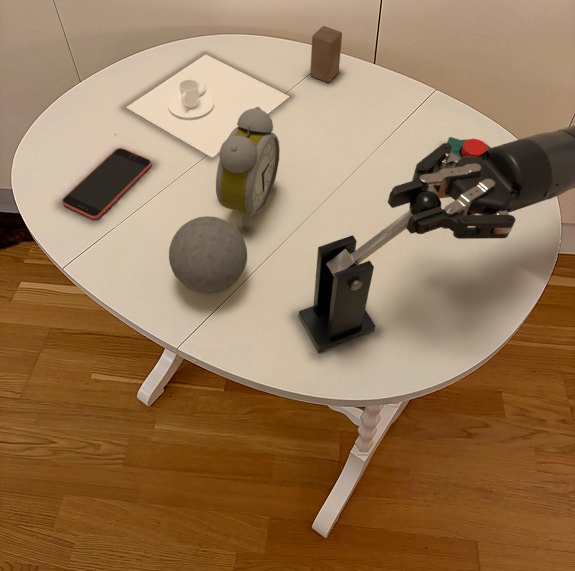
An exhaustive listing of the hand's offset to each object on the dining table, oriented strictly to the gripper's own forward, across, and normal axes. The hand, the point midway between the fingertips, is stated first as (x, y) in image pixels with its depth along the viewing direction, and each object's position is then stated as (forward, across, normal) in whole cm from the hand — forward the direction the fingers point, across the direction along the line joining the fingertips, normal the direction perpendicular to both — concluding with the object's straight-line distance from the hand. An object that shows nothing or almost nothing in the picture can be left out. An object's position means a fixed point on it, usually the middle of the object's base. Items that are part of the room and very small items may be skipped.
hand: (400, 212), depth 64 cm
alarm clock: (+9, -24, +19) cm, 32 cm away
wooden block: (-16, -48, +18) cm, 54 cm away
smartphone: (+26, -36, +19) cm, 49 cm away
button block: (-26, -16, +18) cm, 35 cm away
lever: (0, 0, +5) cm, 5 cm away
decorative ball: (+18, -13, +19) cm, 29 cm away
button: (-26, -17, +14) cm, 34 cm away
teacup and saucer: (+5, -49, +19) cm, 53 cm away
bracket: (+6, 0, +18) cm, 19 cm away
